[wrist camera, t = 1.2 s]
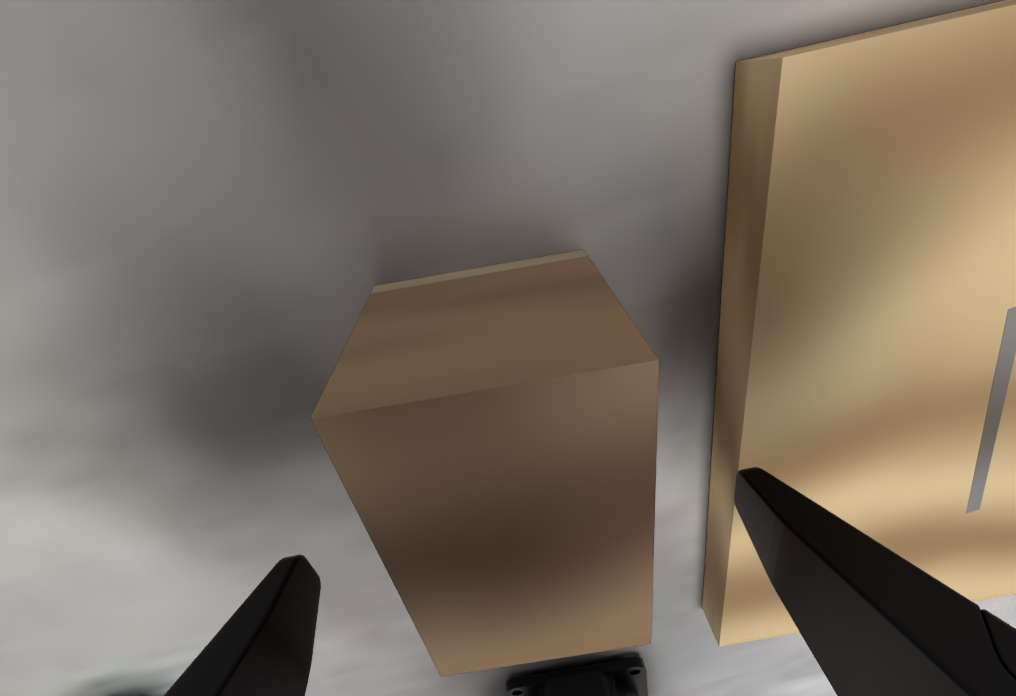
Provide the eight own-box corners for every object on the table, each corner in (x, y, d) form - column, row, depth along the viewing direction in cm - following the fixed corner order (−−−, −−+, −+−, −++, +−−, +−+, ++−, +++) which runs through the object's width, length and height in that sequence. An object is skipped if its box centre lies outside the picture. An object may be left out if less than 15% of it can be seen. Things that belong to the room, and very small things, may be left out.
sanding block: (598, 479, 15) (650, 643, 10) (449, 504, 15) (441, 676, 10) (582, 247, 10) (659, 360, 6) (375, 283, 11) (310, 418, 6)
